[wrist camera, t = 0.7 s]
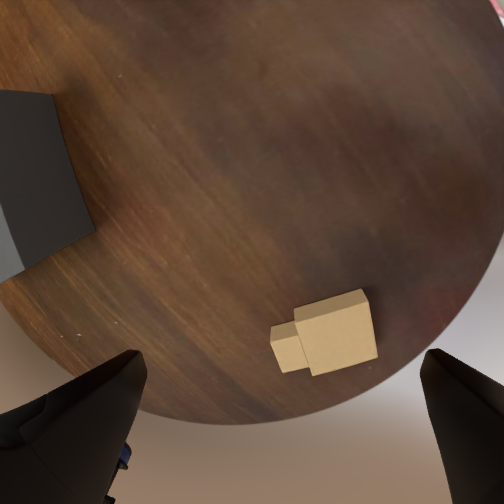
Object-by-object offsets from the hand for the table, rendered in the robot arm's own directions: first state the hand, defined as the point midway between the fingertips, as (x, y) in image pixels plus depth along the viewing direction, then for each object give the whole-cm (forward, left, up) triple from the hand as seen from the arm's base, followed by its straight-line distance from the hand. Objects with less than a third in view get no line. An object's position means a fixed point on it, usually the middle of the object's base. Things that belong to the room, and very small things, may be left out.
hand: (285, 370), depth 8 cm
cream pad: (-7, -2, -12) cm, 14 cm away
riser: (+11, +20, -12) cm, 26 cm away
